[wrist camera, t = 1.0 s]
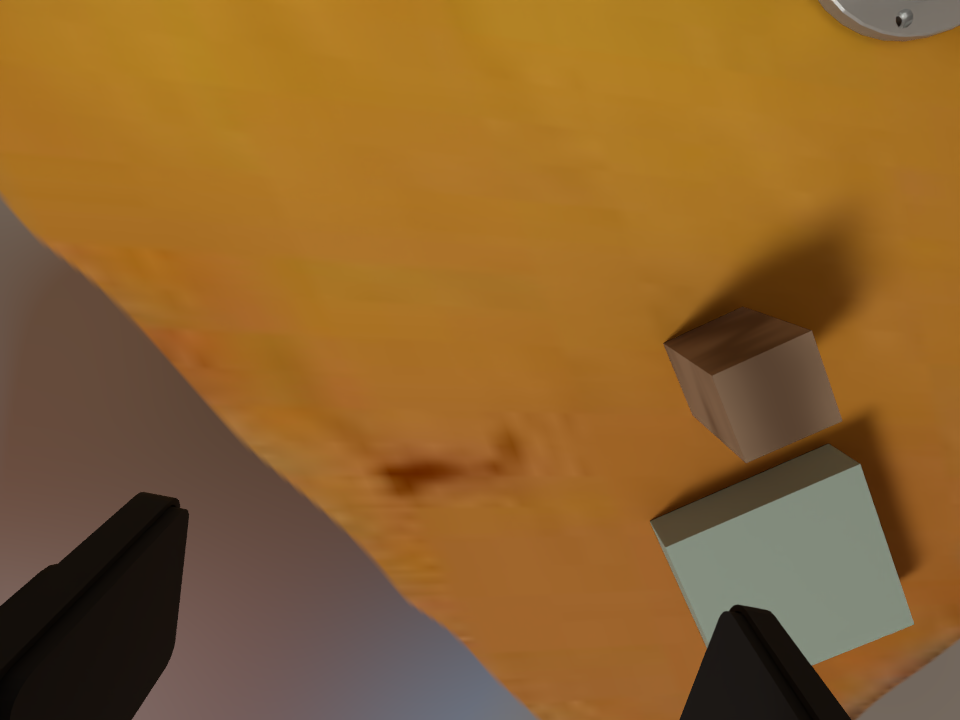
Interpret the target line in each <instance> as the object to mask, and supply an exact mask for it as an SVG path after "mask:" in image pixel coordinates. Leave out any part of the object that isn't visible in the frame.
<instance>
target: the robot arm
mask: <svg viewBox="0 0 960 720" xmlns="http://www.w3.org/2000/svg"><path fill="white" fill-rule="evenodd" d="M818 1H819V2H820V3H821V5H822V6H823V8H824V9H825V10H826V11H827V12H828V13H830V14H831V15H832V16H833V17H834V18H835V19H836V20H838V21H839V22H840V23H841V24H842V25H844V26H846V27H848V28H850V29H852V30H854V31H855V32H857V33H859V34H861V35H865V36H868V37H872V38H876V39H879V40H887V41H909V40H915V39H921V38H927V37H930V36H933V35H936V34H939V33H942V32H944V31H947V30H950V29H953V28H955V27H957V26H959V25H960V0H818ZM188 519H189V513H188V510H186V509H182V508H180V504H179V500H178V499H176V498H173V497H167V496H162V495H157V494H151V493H146V492H141V493H139V494H137V495H136V496H135V497H133V498H132V499H131V500H130V501H129V502H128V503H127V504H125V505H124V506H123V507H122V508H121V509H120V510H119V511H118V512H116V513H115V514H114V515H113V516H112V517H111V518H109V519H108V520H107V521H106V522H105V523H104V524H103V525H102V526H100V527H99V528H98V529H97V530H96V531H95V532H94V533H92V534H91V535H90V536H89V537H88V538H87V539H86V540H84V541H83V542H82V543H81V544H80V545H79V546H78V547H76V548H75V549H74V550H73V551H72V552H71V553H70V554H69V555H67V556H66V557H65V558H64V559H63V560H62V561H61V562H59V563H58V564H54V565H50V566H48V567H47V568H45V569H44V570H42V571H41V572H40V573H38V574H37V575H36V576H35V577H34V578H32V579H31V580H30V581H29V582H28V583H27V584H26V585H24V586H23V587H22V588H21V589H20V590H18V591H17V592H16V593H15V594H14V595H13V596H12V597H10V598H9V599H8V600H7V601H6V602H5V603H4V604H2V605H1V606H0V720H132V718H133V717H134V715H135V714H136V712H137V711H138V709H139V708H140V706H141V705H142V703H143V702H144V700H145V698H146V697H147V695H148V694H149V692H150V691H151V689H152V688H153V686H154V685H155V683H156V682H157V680H158V678H159V677H160V675H161V674H162V672H163V671H164V669H165V668H166V666H167V664H168V662H169V660H170V657H171V655H172V652H173V649H174V645H175V637H176V629H177V620H178V611H179V602H180V592H181V584H182V575H183V566H184V556H185V546H186V538H187V529H188ZM680 720H851V719H850V717H849V716H848V715H847V713H846V712H845V711H844V709H843V708H842V706H841V705H840V704H839V702H838V701H837V700H836V698H835V697H834V696H833V694H832V693H831V691H830V690H829V689H828V687H827V686H826V685H825V683H824V682H823V681H822V679H821V678H820V677H819V675H818V674H817V672H816V671H815V670H814V668H813V667H812V666H811V664H810V663H809V662H808V660H807V659H806V658H805V656H804V655H803V653H802V652H801V651H800V649H799V648H798V647H797V645H796V644H795V643H794V641H793V640H792V638H791V637H790V636H789V634H788V633H787V632H786V630H785V629H784V628H783V626H782V625H781V624H780V622H779V621H778V619H777V618H776V617H775V615H774V614H773V613H772V612H771V611H768V610H765V609H760V608H755V607H749V606H744V605H739V604H737V605H734V606H733V607H731V608H730V610H729V611H724V612H723V613H722V614H721V615H720V617H719V619H718V622H717V624H716V627H715V629H714V632H713V635H712V637H711V640H710V642H709V645H708V648H707V650H706V653H705V655H704V658H703V660H702V663H701V666H700V668H699V671H698V673H697V676H696V679H695V681H694V684H693V686H692V689H691V692H690V694H689V697H688V699H687V702H686V705H685V707H684V710H683V712H682V715H681V717H680Z"/></svg>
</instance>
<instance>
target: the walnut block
mask: <svg viewBox="0 0 960 720" xmlns="http://www.w3.org/2000/svg"><path fill="white" fill-rule="evenodd" d="M663 344H664V346H665V349H666V351H667V354H668V356H669V359H670V361H671V363H672V366H673V368H674V371H675V373H676V376H677V378H678V381H679V383H680V386H681V388H682V390H683V393H684V395H685V398H686V400H687V403H688V405H689V408H690V410H691V412H692V415H693V416H694V417H695V418H696V419H697V420H699V421H700V422H701V423H702V424H703V425H704V426H705V427H706V428H707V429H709V430H710V431H711V432H712V433H713V434H714V435H715V436H716V437H717V438H719V439H720V440H721V441H722V442H723V443H724V444H725V445H726V446H728V447H729V448H730V449H731V450H732V451H733V452H734V453H735V454H736V455H738V456H739V457H740V458H741V459H742V460H743V461H744V462H745V463H748V462H750V461H752V460H755V459H757V458H759V457H761V456H764V455H766V454H768V453H771V452H773V451H775V450H777V449H780V448H782V447H784V446H787V445H789V444H791V443H793V442H796V441H798V440H800V439H803V438H805V437H807V436H809V435H812V434H814V433H816V432H819V431H821V430H823V429H825V428H828V427H830V426H832V425H835V424H837V423H839V422H841V421H842V418H841V415H840V413H839V410H838V407H837V404H836V401H835V398H834V395H833V392H832V389H831V386H830V383H829V380H828V377H827V374H826V371H825V368H824V365H823V362H822V359H821V356H820V353H819V350H818V348H817V345H816V342H815V339H814V336H813V333H812V331H811V330H809V329H806V328H803V327H800V326H797V325H794V324H791V323H788V322H786V321H783V320H780V319H777V318H774V317H771V316H768V315H766V314H763V313H760V312H757V311H754V310H751V309H748V308H745V307H741V308H739V309H737V310H734V311H732V312H730V313H728V314H726V315H724V316H721V317H719V318H717V319H715V320H713V321H711V322H708V323H706V324H704V325H702V326H700V327H698V328H695V329H693V330H691V331H689V332H687V333H685V334H682V335H680V336H678V337H676V338H674V339H671V340H669V341H667V342H665V343H663Z"/></svg>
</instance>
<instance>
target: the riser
mask: <svg viewBox="0 0 960 720" xmlns="http://www.w3.org/2000/svg"><path fill="white" fill-rule="evenodd" d="M650 523H651V525H652V527H653V529H654V532H655V534H656V536H657V538H658V541H659V543H660V545H661V547H662V549H663V552H664V554H665V556H666V558H667V560H668V563H669V565H670V567H671V569H672V572H673V574H674V576H675V578H676V580H677V583H678V585H679V587H680V589H681V591H682V594H683V596H684V598H685V600H686V603H687V605H688V607H689V609H690V611H691V614H692V616H693V618H694V620H695V622H696V625H697V627H698V629H699V631H700V634H701V636H702V638H703V640H704V642H705V645H706V647H707V648H708V645H709V642H710V640H711V637H712V635H713V632H714V629H715V627H716V624H717V622H718V619H719V617H720V615H721V614H722V613H723V612H724V611H729V610H730V608H731V607H733V606H734V605H737V604H739V605H744V606H749V607H755V608H760V609H765V610H768V611H771V612H772V613H773V614H774V615H775V617H776V618H777V619H778V621H779V622H780V624H781V625H782V626H783V628H784V629H785V630H786V632H787V633H788V634H789V636H790V637H791V638H792V640H793V641H794V643H795V644H796V645H797V647H798V648H799V649H800V651H801V652H802V653H803V655H804V656H805V658H806V659H807V660H808V662H809V663H810V664H811V666H812V665H814V664H817V663H819V662H822V661H824V660H827V659H829V658H832V657H834V656H837V655H839V654H842V653H844V652H847V651H849V650H852V649H854V648H857V647H859V646H862V645H864V644H867V643H869V642H871V641H874V640H876V639H879V638H881V637H884V636H886V635H889V634H891V633H894V632H896V631H899V630H901V629H904V628H906V627H909V626H911V625H914V622H913V619H912V616H911V613H910V610H909V607H908V604H907V601H906V598H905V595H904V592H903V589H902V586H901V583H900V580H899V578H898V575H897V572H896V569H895V566H894V563H893V560H892V557H891V554H890V551H889V548H888V545H887V542H886V539H885V536H884V533H883V530H882V527H881V524H880V521H879V518H878V515H877V512H876V509H875V506H874V503H873V500H872V497H871V494H870V491H869V488H868V485H867V482H866V480H865V477H864V474H863V471H862V468H861V465H860V463H858V462H856V461H855V460H853V459H852V458H850V457H849V456H847V455H846V454H844V453H842V452H841V451H839V450H838V449H836V448H835V447H833V446H832V445H830V444H827V445H824V446H822V447H820V448H817V449H815V450H813V451H811V452H808V453H806V454H804V455H801V456H799V457H797V458H794V459H792V460H790V461H787V462H785V463H783V464H781V465H778V466H776V467H774V468H771V469H769V470H767V471H764V472H762V473H760V474H758V475H755V476H753V477H751V478H748V479H746V480H744V481H741V482H739V483H737V484H734V485H732V486H730V487H728V488H725V489H723V490H721V491H718V492H716V493H714V494H711V495H709V496H707V497H704V498H702V499H700V500H698V501H695V502H693V503H691V504H688V505H686V506H684V507H681V508H679V509H677V510H675V511H672V512H670V513H668V514H665V515H663V516H661V517H658V518H656V519H654V520H651V521H650Z"/></svg>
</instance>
